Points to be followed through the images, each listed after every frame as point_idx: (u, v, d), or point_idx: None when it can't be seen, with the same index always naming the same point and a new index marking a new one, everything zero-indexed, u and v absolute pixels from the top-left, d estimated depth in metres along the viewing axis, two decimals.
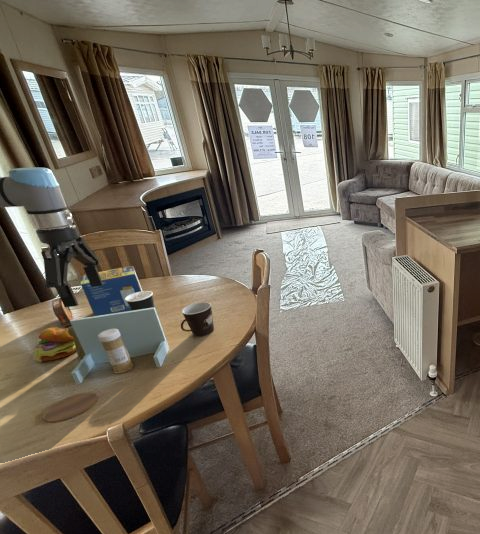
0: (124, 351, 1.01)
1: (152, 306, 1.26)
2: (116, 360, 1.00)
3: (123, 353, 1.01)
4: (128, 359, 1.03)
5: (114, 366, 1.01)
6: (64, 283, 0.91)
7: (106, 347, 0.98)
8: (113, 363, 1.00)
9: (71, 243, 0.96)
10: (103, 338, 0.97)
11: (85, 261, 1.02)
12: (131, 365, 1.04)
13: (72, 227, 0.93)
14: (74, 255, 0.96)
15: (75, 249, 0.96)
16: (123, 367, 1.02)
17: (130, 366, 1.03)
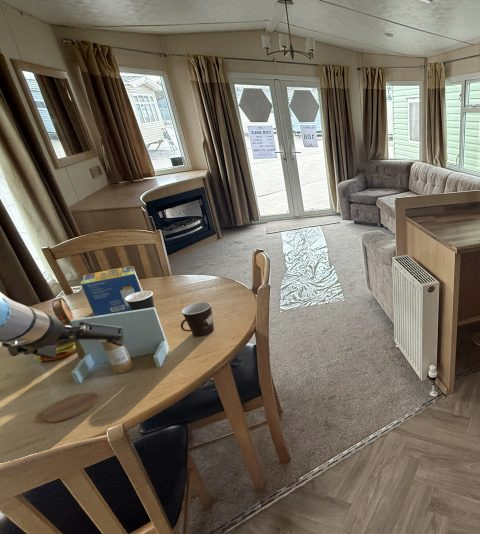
0: (124, 351, 1.01)
1: (152, 306, 1.26)
2: (116, 360, 1.00)
3: (123, 353, 1.01)
4: (128, 359, 1.03)
5: (114, 366, 1.01)
6: (26, 353, 0.79)
7: (106, 347, 0.98)
8: (113, 363, 1.00)
9: None
10: None
11: None
12: (131, 365, 1.04)
13: (26, 345, 0.70)
14: None
15: None
16: (123, 367, 1.02)
17: (130, 366, 1.03)
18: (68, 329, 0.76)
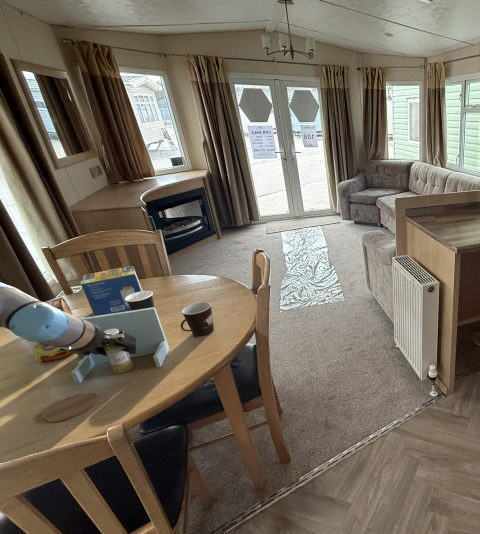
0: (124, 351, 1.01)
1: (152, 306, 1.26)
2: (116, 360, 1.00)
3: (123, 352, 1.01)
4: (128, 359, 1.03)
5: (114, 366, 1.01)
6: (95, 354, 0.97)
7: None
8: (113, 363, 1.00)
9: None
10: None
11: None
12: (131, 365, 1.04)
13: (76, 349, 0.84)
14: None
15: None
16: (123, 367, 1.02)
17: (130, 366, 1.03)
18: (108, 336, 0.91)
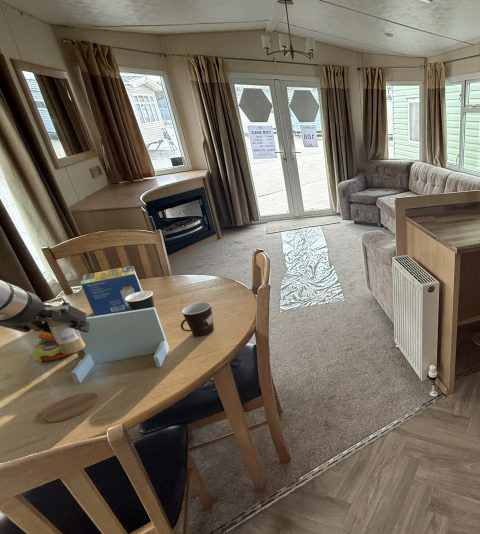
0: (73, 328, 0.87)
1: (152, 306, 1.26)
2: (63, 338, 0.86)
3: (72, 330, 0.87)
4: (78, 338, 0.89)
5: (61, 345, 0.87)
6: (36, 330, 0.83)
7: (50, 322, 0.84)
8: (59, 342, 0.86)
9: None
10: None
11: None
12: (82, 345, 0.90)
13: (4, 321, 0.70)
14: None
15: None
16: (72, 347, 0.88)
17: (81, 346, 0.90)
18: (47, 307, 0.77)
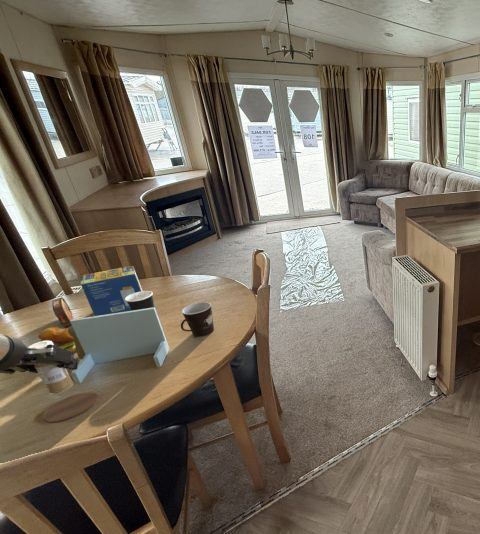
0: None
1: (152, 306, 1.26)
2: (50, 378, 0.83)
3: (59, 369, 0.84)
4: (66, 377, 0.86)
5: (48, 385, 0.84)
6: (22, 371, 0.81)
7: None
8: (46, 382, 0.84)
9: None
10: None
11: None
12: (70, 384, 0.87)
13: None
14: None
15: None
16: (59, 387, 0.85)
17: (69, 385, 0.87)
18: (31, 351, 0.74)
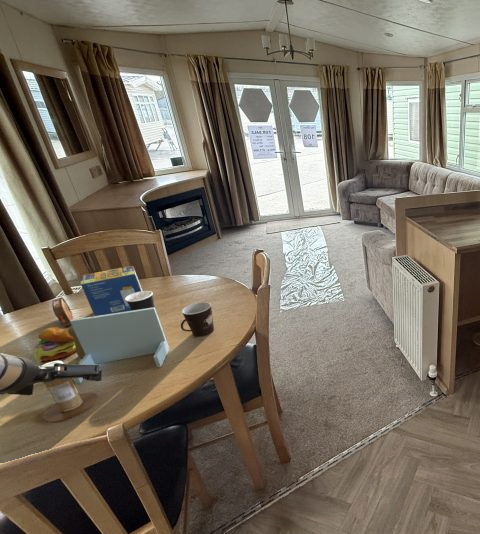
0: (70, 386, 0.87)
1: (152, 306, 1.26)
2: (60, 397, 0.86)
3: (69, 388, 0.87)
4: (75, 395, 0.89)
5: (58, 404, 0.87)
6: (1, 394, 0.79)
7: (47, 383, 0.84)
8: (56, 401, 0.86)
9: None
10: None
11: None
12: (80, 402, 0.90)
13: None
14: None
15: None
16: (69, 405, 0.88)
17: (78, 403, 0.89)
18: (42, 371, 0.77)
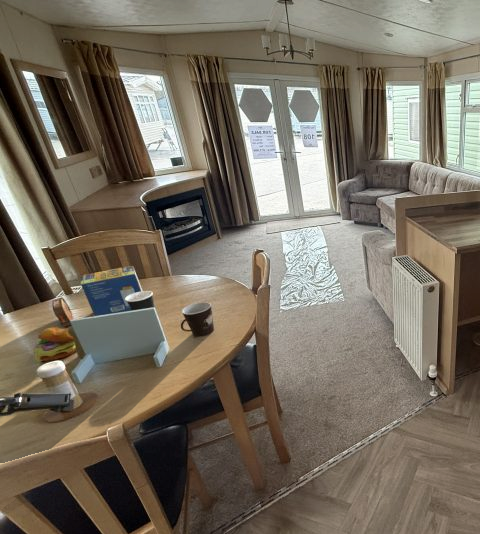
0: (70, 386, 0.87)
1: (152, 306, 1.26)
2: None
3: (69, 388, 0.87)
4: (75, 395, 0.89)
5: None
6: None
7: (47, 383, 0.84)
8: None
9: None
10: (42, 373, 0.82)
11: None
12: (80, 402, 0.90)
13: None
14: None
15: None
16: None
17: (78, 403, 0.89)
18: (0, 403, 0.65)
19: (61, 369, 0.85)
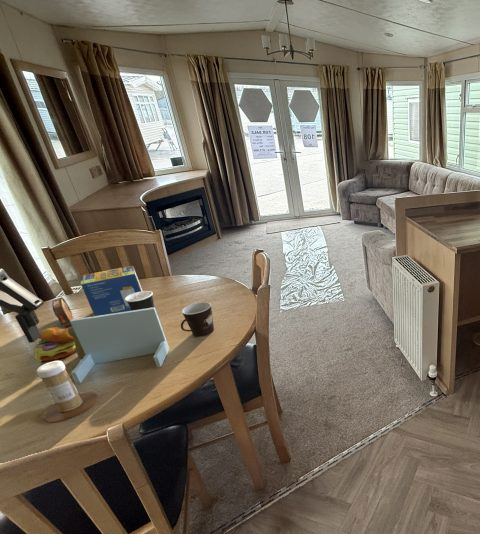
0: (70, 386, 0.87)
1: (152, 306, 1.26)
2: (60, 397, 0.86)
3: (69, 388, 0.87)
4: (75, 395, 0.89)
5: (58, 404, 0.87)
6: None
7: (47, 383, 0.84)
8: (56, 401, 0.86)
9: None
10: (42, 373, 0.82)
11: None
12: (80, 402, 0.90)
13: None
14: None
15: None
16: (69, 405, 0.88)
17: (78, 403, 0.89)
18: None
19: (61, 369, 0.85)
